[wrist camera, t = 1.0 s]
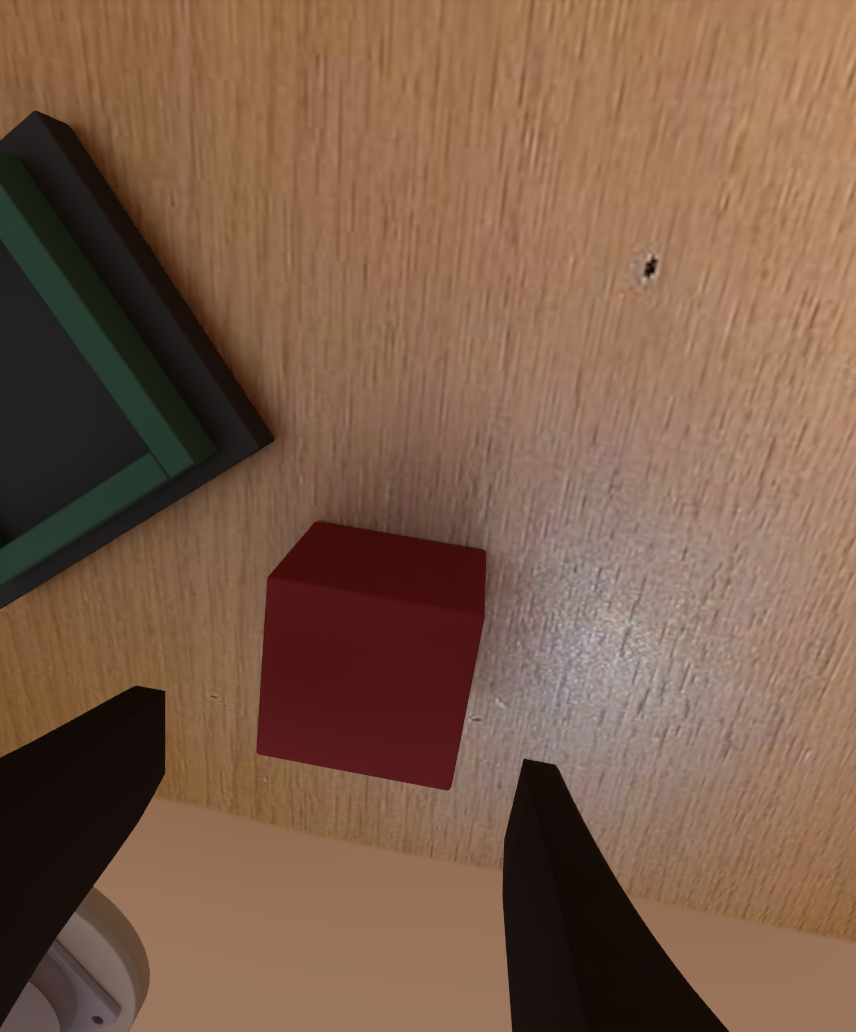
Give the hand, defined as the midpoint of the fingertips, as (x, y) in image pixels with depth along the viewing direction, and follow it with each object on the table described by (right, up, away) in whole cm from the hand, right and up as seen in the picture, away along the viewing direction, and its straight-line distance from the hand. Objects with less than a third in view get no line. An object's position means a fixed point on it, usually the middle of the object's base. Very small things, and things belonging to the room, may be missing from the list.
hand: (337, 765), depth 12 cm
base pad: (-9, +8, +5) cm, 13 cm away
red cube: (+1, +2, +6) cm, 7 cm away
